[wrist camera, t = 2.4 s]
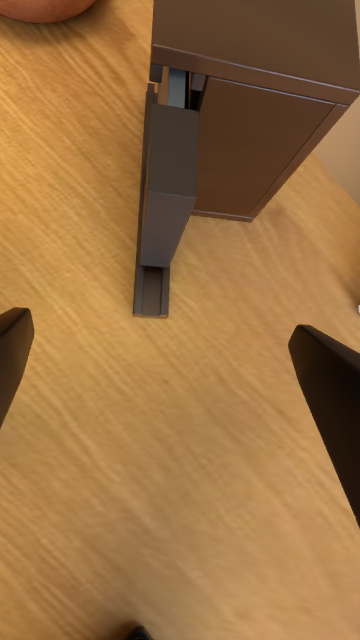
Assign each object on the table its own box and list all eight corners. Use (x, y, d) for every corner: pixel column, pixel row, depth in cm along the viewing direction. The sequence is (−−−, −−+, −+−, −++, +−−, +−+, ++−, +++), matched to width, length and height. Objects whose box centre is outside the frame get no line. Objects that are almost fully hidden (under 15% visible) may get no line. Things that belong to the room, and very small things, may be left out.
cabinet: (252, 324, 25) (379, 281, 12) (132, 316, 23) (136, 258, 10) (250, 119, 28) (348, -81, 15) (145, 99, 26) (160, -144, 14)
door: (166, 273, 23) (197, 198, 12) (139, 270, 22) (147, 191, 12) (173, 97, 25) (203, -83, 15) (149, 92, 25) (163, -95, 15)
